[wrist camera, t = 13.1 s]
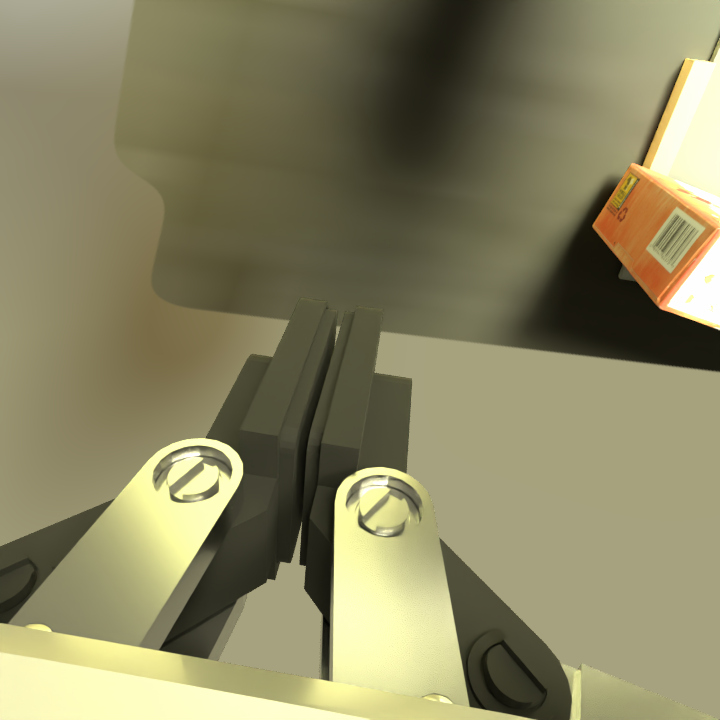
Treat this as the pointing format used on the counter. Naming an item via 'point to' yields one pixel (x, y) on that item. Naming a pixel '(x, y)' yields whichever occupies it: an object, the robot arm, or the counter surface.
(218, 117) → the counter surface
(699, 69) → the mat
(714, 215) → the cracker box
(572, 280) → the counter surface
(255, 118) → the counter surface
